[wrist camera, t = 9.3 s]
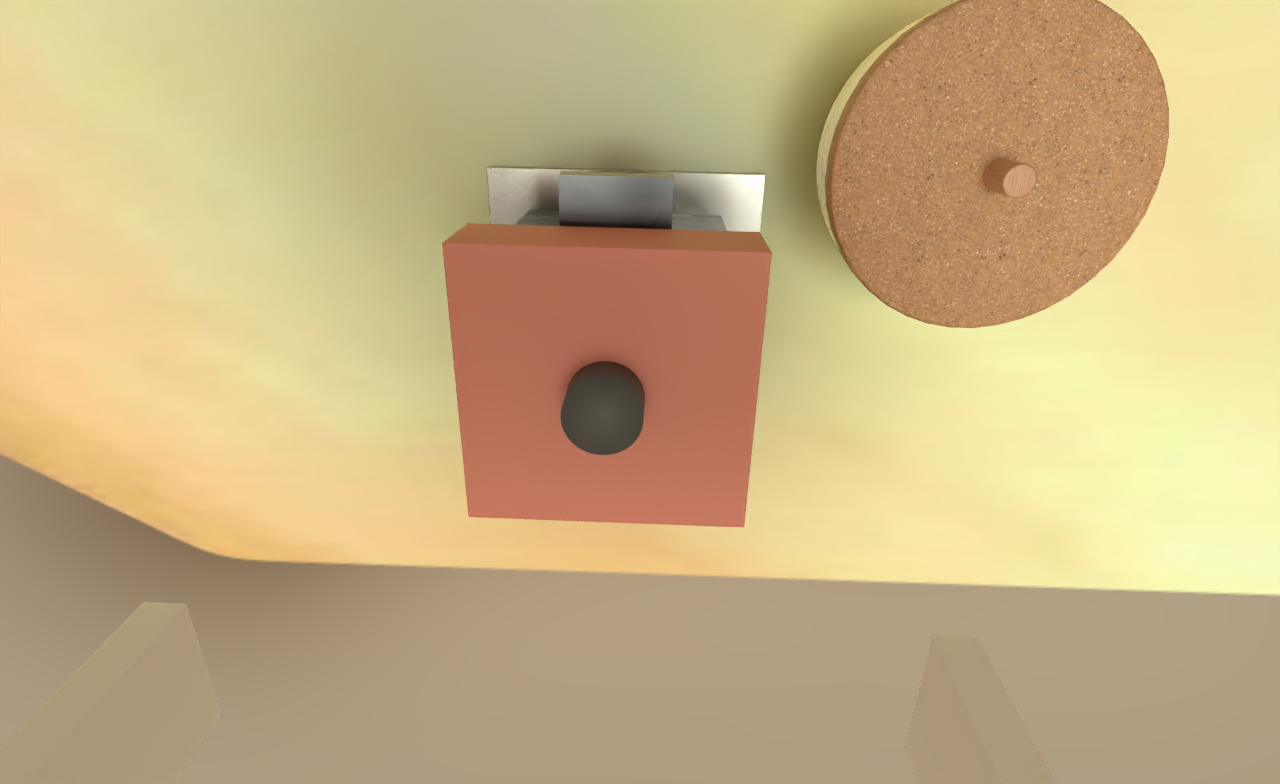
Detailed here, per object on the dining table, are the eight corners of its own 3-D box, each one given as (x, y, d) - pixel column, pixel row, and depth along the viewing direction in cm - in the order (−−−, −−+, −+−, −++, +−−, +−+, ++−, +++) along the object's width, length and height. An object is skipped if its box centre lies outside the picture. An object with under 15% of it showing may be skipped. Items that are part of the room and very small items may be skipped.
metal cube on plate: (487, 150, 31) (434, 175, 24) (765, 158, 30) (795, 185, 23) (505, 423, 36) (467, 509, 29) (740, 432, 36) (758, 519, 29)
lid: (467, 223, 24) (426, 255, 20) (759, 231, 24) (779, 266, 20) (487, 473, 28) (456, 543, 24) (736, 482, 28) (748, 555, 24)
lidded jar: (789, 279, 32) (833, 353, 24) (795, 17, 28) (851, -6, 20) (1028, 266, 32) (1160, 338, 23) (1073, -5, 27) (1256, -37, 19)
